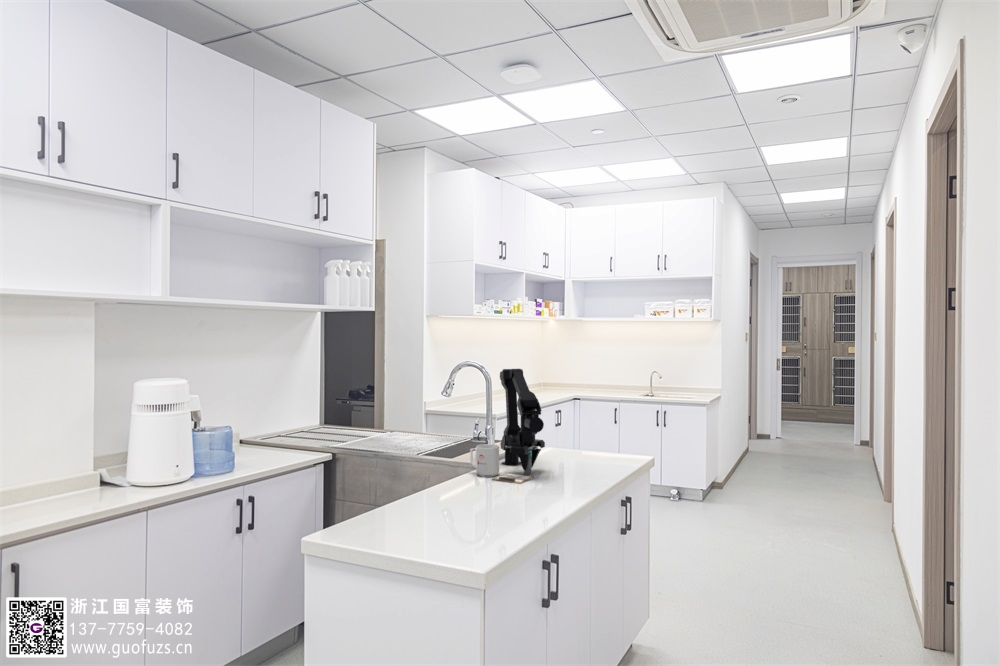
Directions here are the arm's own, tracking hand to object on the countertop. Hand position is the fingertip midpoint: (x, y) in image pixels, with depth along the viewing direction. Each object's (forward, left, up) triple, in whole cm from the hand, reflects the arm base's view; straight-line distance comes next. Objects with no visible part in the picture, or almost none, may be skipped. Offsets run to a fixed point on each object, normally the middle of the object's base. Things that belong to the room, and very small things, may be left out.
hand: (527, 468), depth 259 cm
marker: (0, 0, -2) cm, 2 cm away
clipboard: (+10, -1, -2) cm, 10 cm away
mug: (+8, -15, -2) cm, 17 cm away
